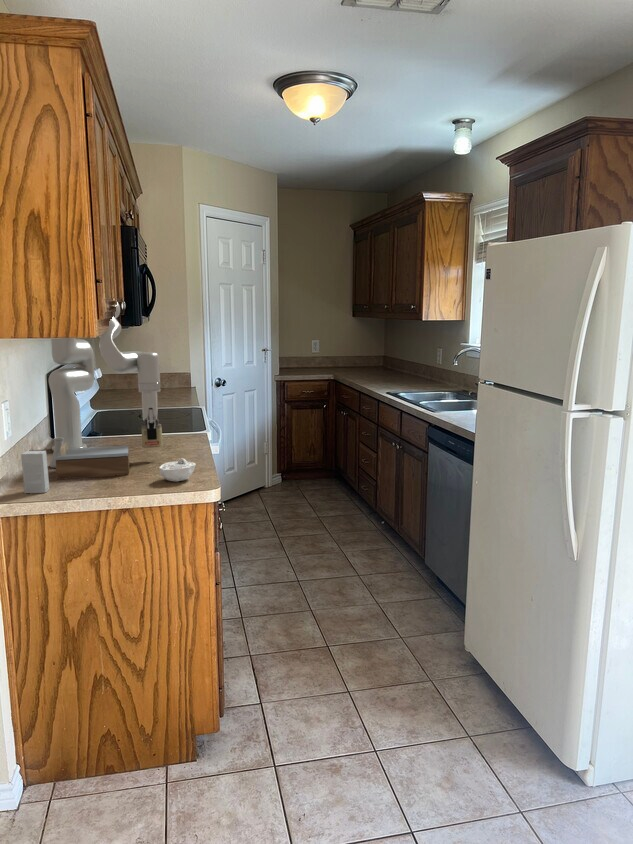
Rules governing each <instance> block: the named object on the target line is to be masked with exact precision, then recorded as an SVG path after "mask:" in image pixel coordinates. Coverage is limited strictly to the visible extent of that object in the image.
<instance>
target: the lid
mask: <svg viewBox="0 0 633 844" xmlns="http://www.w3.org/2000/svg"><path fill="white" fill-rule="evenodd" d="M128 450H129V444H128V445H108V446H106V445H105V446H92V447H91V446H89V447H88V446H87V447H86V448H68V442H64V443H63V444H62V446H61V448H60V450H59V452H58V454H57V455H56V460H67V459H84V458H101V457H119V456H128Z"/></svg>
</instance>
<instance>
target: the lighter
mask: <svg viewBox="0 0 633 844" xmlns="http://www.w3.org/2000/svg"><path fill="white" fill-rule="evenodd" d="M153 422H154V421H153ZM159 422H160V420H159V419H158V418H157V419H156V420H155V426H156V432H157V439H156V440H148V439H147V429H148V425H147V419H145V420H144V424H141V429H140V430H141V444H142V448H143V449H144V448H145V449H147V448H148V449H150V448H151V449H152V448H162V447H163V446H164V445H163V431H162V430H163V428H162V424H161V423H159Z"/></svg>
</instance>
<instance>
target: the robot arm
mask: <svg viewBox="0 0 633 844" xmlns="http://www.w3.org/2000/svg"><path fill="white" fill-rule="evenodd" d="M120 313H121V306H120V304H119V302H118V301H117V307H116V312H115V317H114V316H113V317H112V319H110V321H109V327H108V329H107V331H106V333H104V334H102V335H100V336H99V335H98V337H99V338H100V339H99V352H100V356H101V357H102V359H103V360H104V362H105V364H107V366H108V367H109V368H110V370H111V371H112V372H114V373H116V374H128V373H129V374H130V373H133V374H134V373H137V381H138V382H137V384H138V393H141V409H142V420H143V421H145V420H147V425H148V429H147V439H148V440H156V439H157V432H156V426H155V424H156V422H155V420H156V419H158V413H159V412H158V409H159V408H158V401H159V400H158V392H159V393H160V392H161V374H160V356H159V354H158V353H157V352H154V351H145V352H144V351H140V350H133V351H120V349H118V347H117V346H116V344H115V342H114V341H113V340H114V339H116V338H117V337H118V336H119V334H121V332H122V325H121V324H120V322H119V321H118V319H117V318H118V317H120ZM50 342H51V356H52V360H53V362H54V363H55V364H57V365H62V366H63V365H64V366H67V365H69V366H71V365H74V367H63V368H58V369H55V370H53V371H52V372H50V374H49V376H48V386H49V389H50V390H49V391H50V393H51V398H52V405H53V418H54V433H55V438H57V437H63V438H64V440H63V443H64V442H68V448H86V447H88V446H87V444H86V443H83V438H82V437H83V436H82V435H83V434H82V421H81V420H82V419H81V408H80V407H81V406H80V401H79V399H78V397H77V396H76V394H75V393H77V392H79V393H80V392H85V391H89V390H90V389H91V388H93V385H94V383H95V356H94V354H95V353H94V350H93V347H92V345H91V344H90V342H89V341H88V340H85V339H80V338H79V339H77V338H76V337H75V338H61V339H51V338H50ZM153 421H154V422H153ZM54 448H55V445H53V446H52V447H51V449H52V450H51V451H52V452H54Z"/></svg>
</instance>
